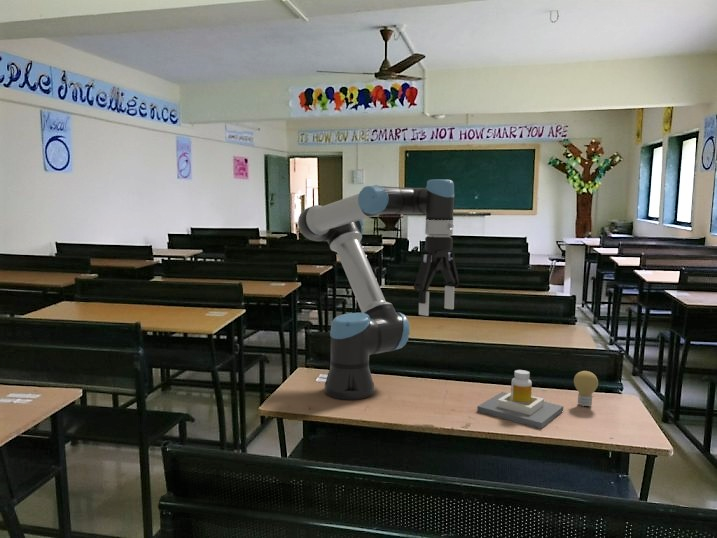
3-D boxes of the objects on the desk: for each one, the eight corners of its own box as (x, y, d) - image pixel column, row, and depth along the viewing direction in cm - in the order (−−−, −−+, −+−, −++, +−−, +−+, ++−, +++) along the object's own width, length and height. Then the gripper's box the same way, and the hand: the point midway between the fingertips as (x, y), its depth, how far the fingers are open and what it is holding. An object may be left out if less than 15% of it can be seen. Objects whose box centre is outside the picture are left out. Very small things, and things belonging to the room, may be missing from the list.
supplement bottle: (534, 409, 146) (536, 374, 145) (515, 410, 145) (517, 375, 144) (525, 402, 152) (526, 368, 151) (507, 403, 151) (508, 369, 150)
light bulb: (599, 410, 151) (602, 375, 150) (576, 408, 151) (578, 374, 150) (592, 402, 157) (594, 368, 156) (569, 401, 158) (571, 367, 157)
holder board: (477, 411, 148) (477, 399, 148) (502, 396, 160) (502, 385, 160) (541, 428, 137) (542, 415, 136) (563, 411, 149) (563, 399, 149)
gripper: (426, 237, 137) (424, 319, 139) (472, 235, 156) (470, 307, 158) (401, 236, 141) (400, 316, 144) (449, 234, 160) (447, 304, 163)
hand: (436, 311), depth 151 cm, fingers open, 13 cm apart
